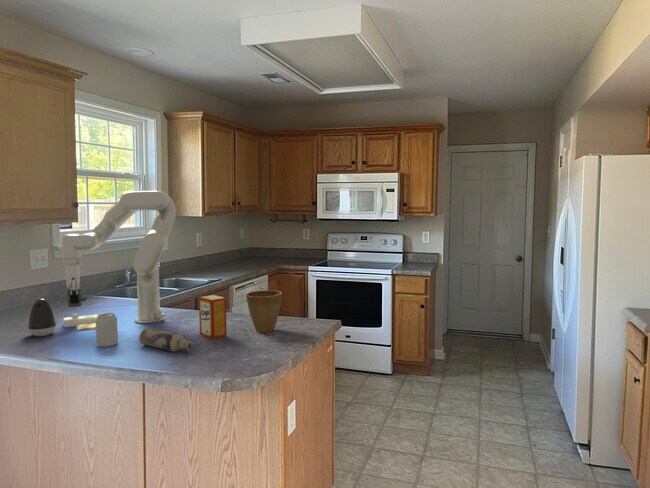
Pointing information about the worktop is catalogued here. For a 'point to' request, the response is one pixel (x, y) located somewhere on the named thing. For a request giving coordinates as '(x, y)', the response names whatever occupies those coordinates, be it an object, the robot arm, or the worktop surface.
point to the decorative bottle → (164, 340)
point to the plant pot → (264, 309)
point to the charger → (70, 299)
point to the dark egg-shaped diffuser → (41, 318)
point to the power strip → (79, 320)
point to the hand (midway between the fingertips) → (74, 302)
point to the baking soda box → (212, 316)
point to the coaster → (86, 326)
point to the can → (106, 330)
